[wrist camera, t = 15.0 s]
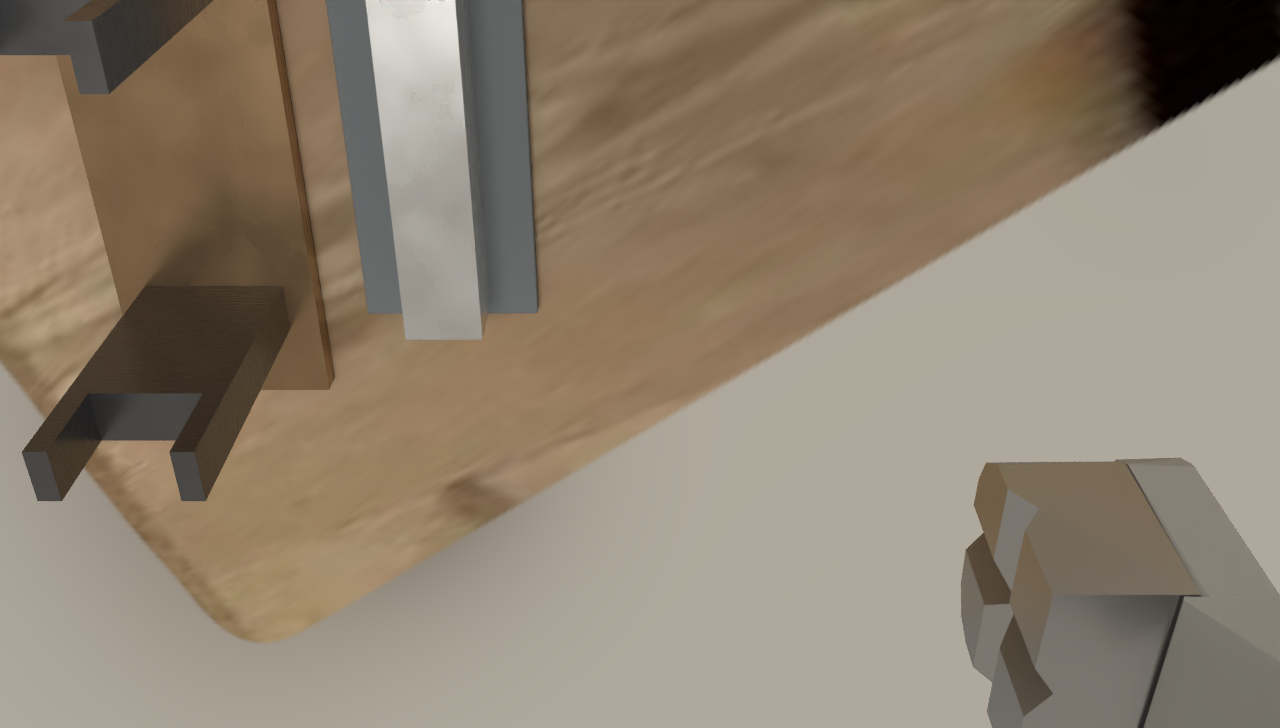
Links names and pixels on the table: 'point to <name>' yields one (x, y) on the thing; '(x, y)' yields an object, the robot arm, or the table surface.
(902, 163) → the table surface
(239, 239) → the rack
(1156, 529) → the robot arm
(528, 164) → the mat
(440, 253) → the rail
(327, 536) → the table surface
